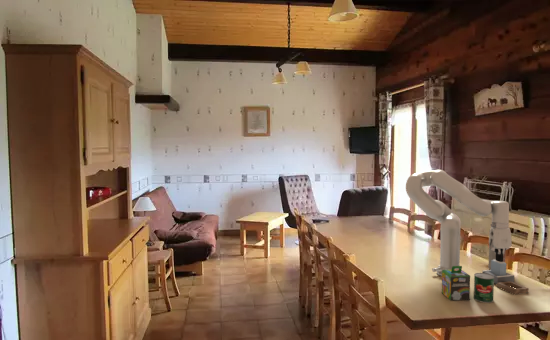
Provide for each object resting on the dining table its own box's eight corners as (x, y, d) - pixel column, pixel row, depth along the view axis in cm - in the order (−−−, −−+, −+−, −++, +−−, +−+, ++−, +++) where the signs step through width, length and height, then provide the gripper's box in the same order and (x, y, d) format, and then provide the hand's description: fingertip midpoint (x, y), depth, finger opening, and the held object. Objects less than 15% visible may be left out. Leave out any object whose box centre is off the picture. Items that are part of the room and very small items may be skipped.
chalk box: (460, 292, 186) (460, 262, 185) (470, 300, 177) (471, 268, 176) (440, 293, 186) (441, 262, 185) (450, 300, 177) (450, 268, 176)
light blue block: (499, 283, 198) (500, 262, 198) (490, 279, 204) (491, 259, 203) (505, 282, 199) (506, 262, 198) (496, 278, 205) (497, 259, 204)
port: (497, 285, 196) (497, 276, 195) (482, 278, 205) (482, 270, 205) (514, 283, 198) (514, 275, 198) (498, 277, 208) (498, 269, 207)
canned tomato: (487, 295, 182) (487, 272, 181) (497, 302, 174) (498, 278, 174) (470, 296, 182) (470, 272, 181) (479, 303, 174) (480, 278, 173)
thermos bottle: (508, 271, 217) (509, 221, 215) (496, 272, 214) (498, 221, 213) (496, 267, 224) (498, 218, 222) (484, 268, 222) (486, 219, 220)
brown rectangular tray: (514, 294, 183) (514, 290, 183) (497, 287, 193) (497, 282, 193) (528, 292, 185) (528, 288, 185) (510, 285, 195) (510, 281, 195)
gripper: (493, 227, 194) (492, 264, 195) (518, 225, 198) (517, 261, 199) (482, 224, 201) (481, 260, 203) (506, 223, 205) (505, 257, 206)
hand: (499, 261), depth 201 cm, fingers closed
